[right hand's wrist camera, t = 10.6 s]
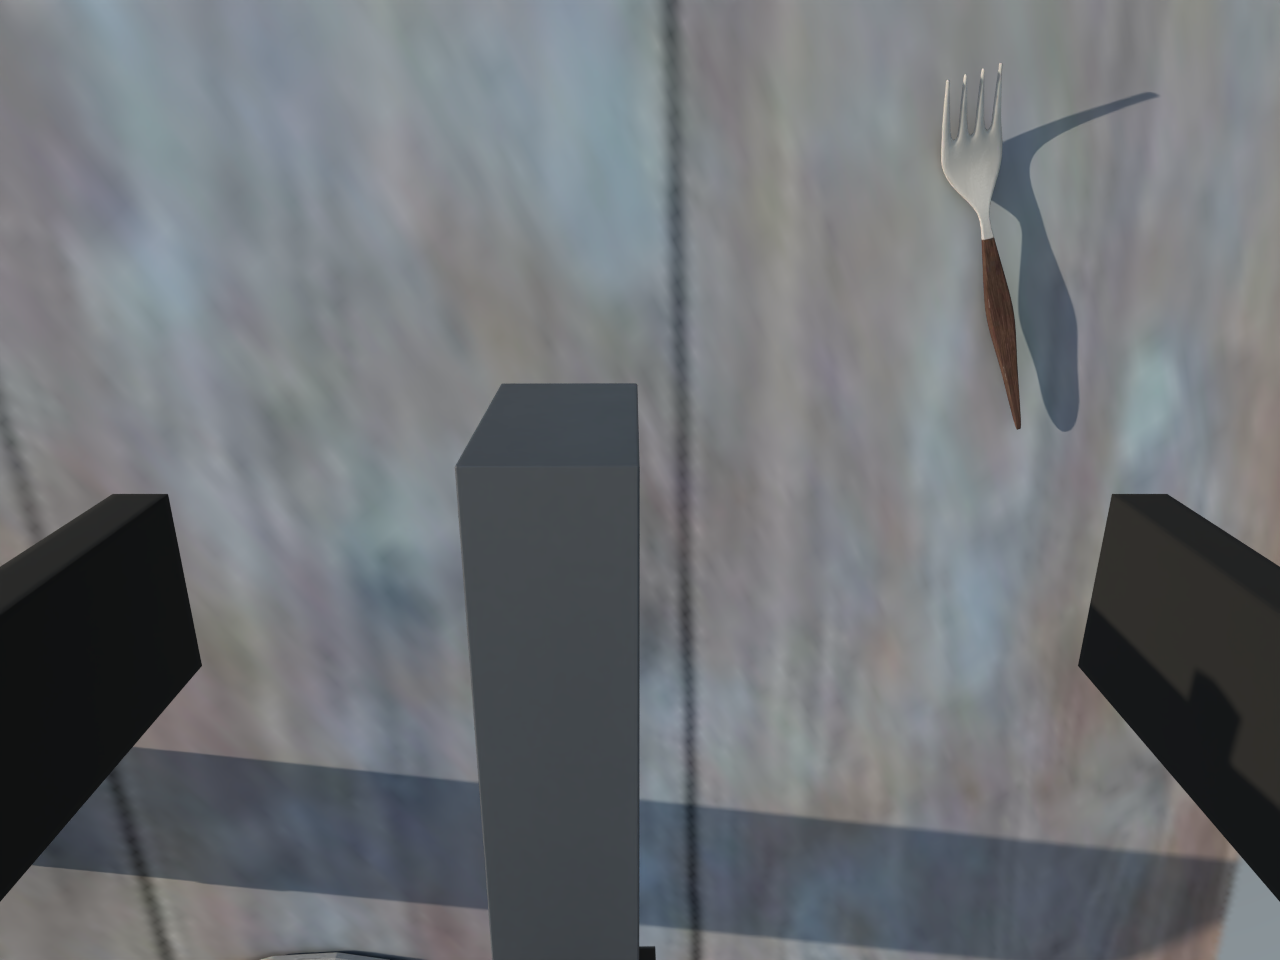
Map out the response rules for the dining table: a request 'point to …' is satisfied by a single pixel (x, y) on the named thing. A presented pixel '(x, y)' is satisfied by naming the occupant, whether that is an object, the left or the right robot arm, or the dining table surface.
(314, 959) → the wall clock
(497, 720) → the bar
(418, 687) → the dining table surface
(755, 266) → the dining table surface
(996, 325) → the fork
